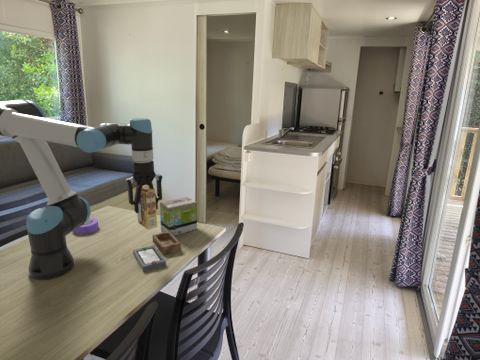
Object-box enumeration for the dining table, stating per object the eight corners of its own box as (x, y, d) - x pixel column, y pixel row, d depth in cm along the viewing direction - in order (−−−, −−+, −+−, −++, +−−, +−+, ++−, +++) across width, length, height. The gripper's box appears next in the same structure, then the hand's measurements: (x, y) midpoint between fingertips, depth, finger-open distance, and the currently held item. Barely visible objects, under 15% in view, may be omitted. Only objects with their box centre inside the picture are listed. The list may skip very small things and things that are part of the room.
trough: (162, 254, 139) (162, 247, 138) (152, 241, 150) (152, 234, 149) (180, 250, 143) (180, 243, 142) (169, 238, 154) (169, 231, 153)
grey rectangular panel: (145, 266, 129) (145, 264, 129) (138, 254, 138) (137, 251, 138) (160, 262, 132) (160, 260, 132) (152, 251, 141) (152, 248, 141)
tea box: (170, 237, 155) (169, 208, 151) (160, 230, 162) (159, 202, 158) (197, 229, 164) (197, 201, 160) (187, 223, 171) (186, 195, 167)
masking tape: (74, 225, 166) (73, 218, 165) (99, 223, 169) (98, 216, 168) (70, 235, 155) (69, 228, 154) (97, 233, 158) (96, 225, 157)
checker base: (143, 271, 127) (142, 265, 126) (133, 254, 139) (132, 248, 138) (166, 265, 131) (165, 259, 131) (154, 249, 144) (154, 243, 143)
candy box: (157, 227, 129) (156, 189, 125) (147, 230, 126) (145, 191, 122) (146, 220, 135) (144, 184, 131) (137, 223, 133) (134, 186, 128)
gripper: (120, 165, 116) (125, 226, 123) (169, 160, 125) (172, 217, 132) (115, 161, 122) (121, 219, 129) (163, 156, 131) (165, 211, 138)
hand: (146, 218), depth 130 cm, fingers closed on candy box, 5 cm apart
